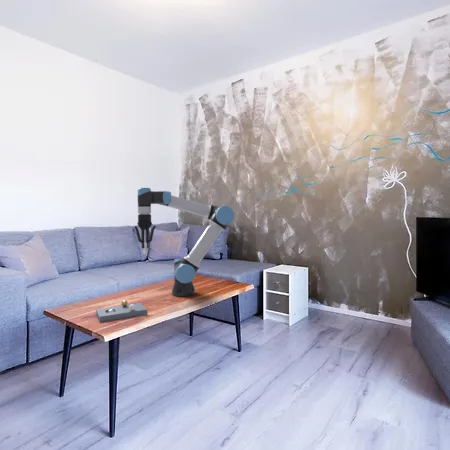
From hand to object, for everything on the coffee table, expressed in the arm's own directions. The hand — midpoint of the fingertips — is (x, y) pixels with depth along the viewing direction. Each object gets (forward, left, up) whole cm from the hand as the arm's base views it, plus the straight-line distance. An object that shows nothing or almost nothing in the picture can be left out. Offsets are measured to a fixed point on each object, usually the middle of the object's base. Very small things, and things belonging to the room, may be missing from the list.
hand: (145, 253), depth 189 cm
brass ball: (+15, +13, -24) cm, 32 cm away
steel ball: (+23, +18, -27) cm, 40 cm away
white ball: (+13, +23, -24) cm, 36 cm away
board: (+18, +18, -28) cm, 38 cm away
